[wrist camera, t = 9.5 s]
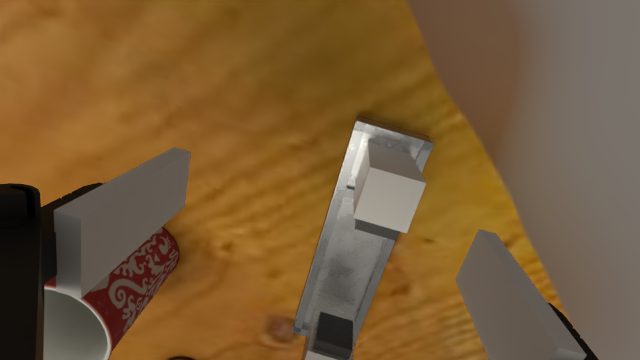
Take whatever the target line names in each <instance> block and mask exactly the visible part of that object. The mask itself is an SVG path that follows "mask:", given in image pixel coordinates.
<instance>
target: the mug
mask: <svg viewBox="0 0 640 360" xmlns="http://www.w3.org/2000/svg"><path fill="white" fill-rule="evenodd" d="M178 259H179V252H178V247H177V245H176V242H175V241H174V239H173V237H172V236H171V235H170V234H169V233H168V232H167V231H166V230H165V229H163V228H162V227H161V228H160V229H159V230H158V231H156V232H155V233H154V234H153V235H152V236H151V237H150V238H149V239H148V240H146V241H145V242H144V243H143V244H142V245H141V246H140V247H139V248H137V249H136V250H135V251H134V252H133V253H132V254H131V255H130V256H128V257H127V258H126V259H125V260H124V261H123V262H122V263H121V264H119V265H118V266H117V267H116V268H115V269H114V270H113V271H112V272H110V273H109V274H108V275H107V276H106V277H105V278H104V279H103V280H101V281H100V282H99V283H98V284H97V285H96V286H95V287H94V288H92V289H91V290H90V291H89V292H88V293H87V294H86V295H85V296H84V297H82V298H77V297H73V296H70V295H66V294H63V293H59V292H56V276H55V277H53V278H52V279H51V280H49V281H48V282H47V283H45V284H44V289H45V303H44V350H43V360H109V358H110V356H111V353H112V351H113V349H114V348H115V347H116V345H117V344H118V342H119V341H120V340H121V339H122V337H123V336H124V335H125V333H126V332H127V331H128V329H129V328H130V327H131V326H132V324H133V323H134V321H135V320H136V319H137V317H138V316H139V315H140V313H141V312H142V311H143V309H144V308H145V307H146V305H147V304H148V303H149V302H150V300H151V299H152V298H153V296H154V295H155V294H156V292H157V291H158V289H159V288H160V287H161V285H162V284H163V283H164V281H165V280H166V279H167V278H168V276H169V275H170V274H171V272H172V271H173V270H174V268H175V267H176V265H177V262H178Z"/></svg>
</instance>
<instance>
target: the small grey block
mask: <svg viewBox="0 0 640 360" xmlns="http://www.w3.org/2000/svg"><path fill="white" fill-rule="evenodd" d="M425 186H426V181H425V180H424V178H423V176H422V174H421V172H420V170H419V168H418V166H417V165H416V163H415V161H414V159H413V157H412V155H411V154H409V153H405V152H402V151H399V150H395V149H392V148H388V147H385V146H381V145H378V144H374V143H371V142H368V143H367V146H366V149H365V152H364V155H363V159H362V162H361V165H360V168H359V171H358V174H357V177H356V180H355V191H354V210H353V218H355V229H357V230H360V231H364V232H367V233H370V234H374V235H377V236H381V237H384V238H388V239H391V240H394V241H396V240H397V238H398V235H399V232H403V233H407V231H408V229H409V226H410V224H411V221H412V219H413V216H414V213H415V211H416V208H417V206H418V203H419V201H420V198H421V196H422V193H423V191H424V188H425Z"/></svg>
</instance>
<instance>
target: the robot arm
mask: <svg viewBox="0 0 640 360" xmlns="http://www.w3.org/2000/svg"><path fill="white" fill-rule="evenodd" d="M190 155H191V152H189V151H186V150H182V149H178V148H172V149H170V150H168V151H166V152H165V153H163V154H161V155H159V156H157V157H155V158H153V159H151V160H149V161H147V162H145V163H143V164H142V165H140V166H138V167H136V168H134V169H132V170H130V171H128V172H126V173H124V174H122V175H120V176H119V177H117V178H115V179H113V180H111V181H109V182H107V183H105V184H103V183H96V184H91V185H87V186H83V187H81V188H79V189H77V190H75V191H73V192H72V193H69V194H67V195H65V196H63V197H62V199H61V198H59V199H57V200H55V201H53V202H51V203H49V204H47V205H45V206H43V207H41V205H40V192H39V190H38V189H37V188H35V187H33V186H29V185H24V184H11V183H10V184H0V360H43V350H44V303H45V289H44V284H45V283H47V282H48V281H49V280H51V279H52V278H53V277H55V276H56V292H59V293H63V294H66V295H70V296H73V297H77V298H82V297H84V296H85V295H86V294H87V293H88V292H89V291H90V290H91V289H92V288H94V287H95V286H96V285H97V284H98V283H99V282H100V281H101V280H103V279H104V278H105V277H106V276H107V275H108V274H109V273H110V272H112V271H113V270H114V269H115V268H116V267H117V266H118V265H119V264H121V263H122V262H123V261H124V260H125V259H126V258H127V257H128V256H130V255H131V254H132V253H133V252H134V251H135V250H136V249H137V248H139V247H140V246H141V245H142V244H143V243H144V242H145V241H146V240H148V239H149V238H150V237H151V236H152V235H153V234H154V233H155V232H156V231H158V230H159V229H160V228H161V227H162V226H163V225H164V224H165V223H167V222H168V221H169V220H170V219H171V218H172V217H173V216H174V215H176V214H177V213H178V212H179V211H180V210H181V209H182V208H183V207H184V206H185V198H186V189H187V181H188V172H189V163H190ZM456 282H457V285H458V287H459V289H460V292H461V294H462V297H463V299H464V301H465V304H466V306H467V308H468V311H469V313H470V316H471V318H472V320H473V323H474V325H475V327H476V330H477V332H478V335H479V337H480V339H481V342H482V344H483V346H484V349H485V351H486V354H487V356H488V358H489V360H598V358H597V357H596V356H595V354H594V353H593V352H592V351H591V349H590V348H589V347H588V346H587V344H586V343H585V342H584V340H583V339H582V338H580V335H579V334H578V333H577V331H576V330H575V329H573V326H572V325H571V323H570V322H569V321H568V320H567V318H566V317H565V316H564V315H563V314H562V313H561V312H560V311H559V310H558V309H556V308H555V307H554V306H553V305H552V304H551V303H547V301H546V300H545V299H544V297H543V296H542V295H541V293H540V292H539V291H538V289H537V288H536V287H535V285H534V284H533V283H532V281H531V280H530V279H529V277H528V276H527V275H526V273H525V272H524V271H523V269H522V268H521V267H520V265H519V264H518V263H517V261H516V260H515V259H514V257H513V256H512V255H511V253H510V252H509V250H508V249H507V248H506V246H505V245H504V244H503V242H502V241H501V240H500V238H499V237H498V236H497V234H495V233H491V232H488V231H484V230H480V229H479V230H478V232H477V234H476V237H475V239H474V241H473V243H472V245H471V247H470V249H469V252H468V254H467V256H466V258H465V260H464V262H463V265H462V267H461V269H460V271H459V273H458V275H457V278H456Z"/></svg>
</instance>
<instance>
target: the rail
mask: <svg viewBox="0 0 640 360" xmlns="http://www.w3.org/2000/svg"><path fill="white" fill-rule="evenodd" d="M368 142H371V143H374V144H378V145H381V146H385V147H388V148H392V149H395V150H399V151H402V152H405V153H409V154H411V155H412V157H413V159H414V161H415V163H416V165H417V166H418V168H419V170H420V172H421V174H422V171H423V169H424V166H425V163H426V161H427V158H428V156H429V153H430V152H431V151H432V149H433V146H434V142H433V141H432V140H431V139H430V138H429V137H428V136H425V135H422V134H418V133H415V132H412V131H408V130H405V129H401V128H398V127H394V126H391V125H387V124H384V123H381V122H377V121H374V120H370V119H367V118H363V117H360V116H357V117H356V120H355V124H354V127H353V130H352V133H351V137H350V140H349V143H348V146H347V150H346V153H345V156H344V160H343V163H342V166H341V169H340V173H339V176H338V179H337V182H336V186H335V189H334V192H333V196H332V199H331V202H330V205H329V209H328V212H327V215H326V218H325V222H324V225H323V228H322V231H321V235H320V238H319V241H318V245H317V248H316V251H315V254H314V258H313V261H312V264H311V267H310V271H309V274H308V277H307V281H306V284H305V287H304V290H303V294H302V297H301V300H300V303H299V307H298V310H297V313H296V317H295V321H294V325H293V329H292V332H293V333H296V334H300V335H303V336H306V339H305V344H304V349H303V354H302V359H301V360H353V359H354V347H355V342H356V340H357V337H358V335H359V332H360V330H361V327H362V324H363V322H364V319H365V317H366V314H367V312H368V309H369V307H370V304H371V301H372V299H373V296H374V294H375V291H376V289H377V286H378V284H379V281H380V278H381V276H382V273H383V271H384V268H385V266H386V263H387V261H388V258H389V255H390V253H391V250H392V248H393V245H394V243H395V241H394V240H391V239H388V238H384V237H381V236H377V235H374V234H370V233H367V232H364V231H360V230H357V229H355V218H353V210H354V191H355V180H356V177H357V174H358V171H359V168H360V165H361V162H362V159H363V155H364V152H365V149H366V146H367V143H368Z"/></svg>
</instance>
